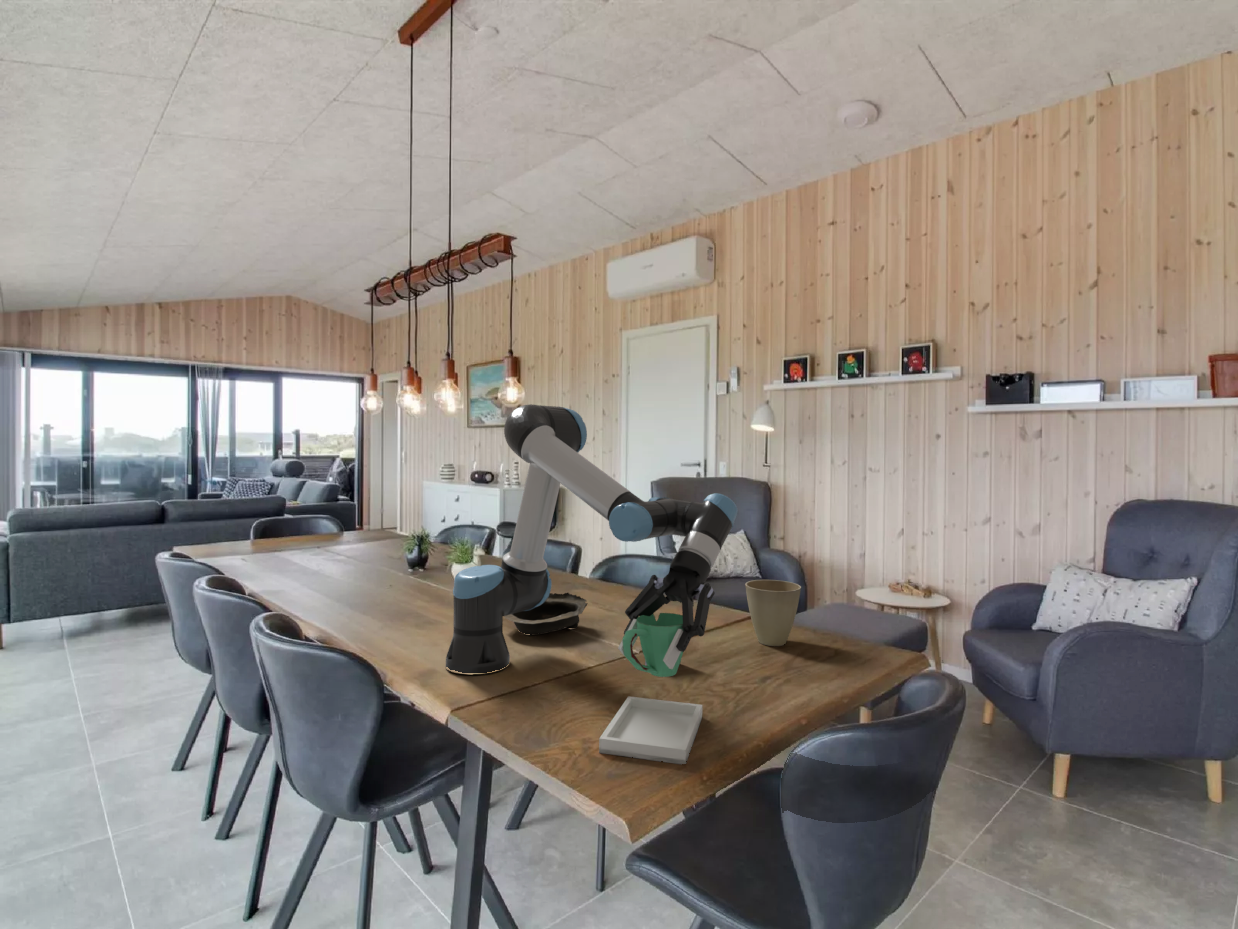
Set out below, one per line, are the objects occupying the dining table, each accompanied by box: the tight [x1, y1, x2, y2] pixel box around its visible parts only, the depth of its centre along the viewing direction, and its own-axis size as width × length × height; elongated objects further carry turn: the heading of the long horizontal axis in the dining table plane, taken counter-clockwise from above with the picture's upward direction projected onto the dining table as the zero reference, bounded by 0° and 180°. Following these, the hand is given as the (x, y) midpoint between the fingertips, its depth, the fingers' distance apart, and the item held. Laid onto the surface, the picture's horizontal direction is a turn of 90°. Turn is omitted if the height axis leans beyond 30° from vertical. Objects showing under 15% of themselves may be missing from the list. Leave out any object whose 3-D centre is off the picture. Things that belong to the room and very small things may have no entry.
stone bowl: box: [503, 592, 589, 636], centre depth 186 cm, size 25×25×9 cm
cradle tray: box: [598, 695, 703, 765], centre depth 118 cm, size 15×20×2 cm
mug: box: [621, 612, 684, 678], centre depth 117 cm, size 15×10×10 cm
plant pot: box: [744, 579, 802, 647], centre depth 176 cm, size 15×15×16 cm
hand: (644, 658), depth 115 cm, fingers closed on mug, 10 cm apart
